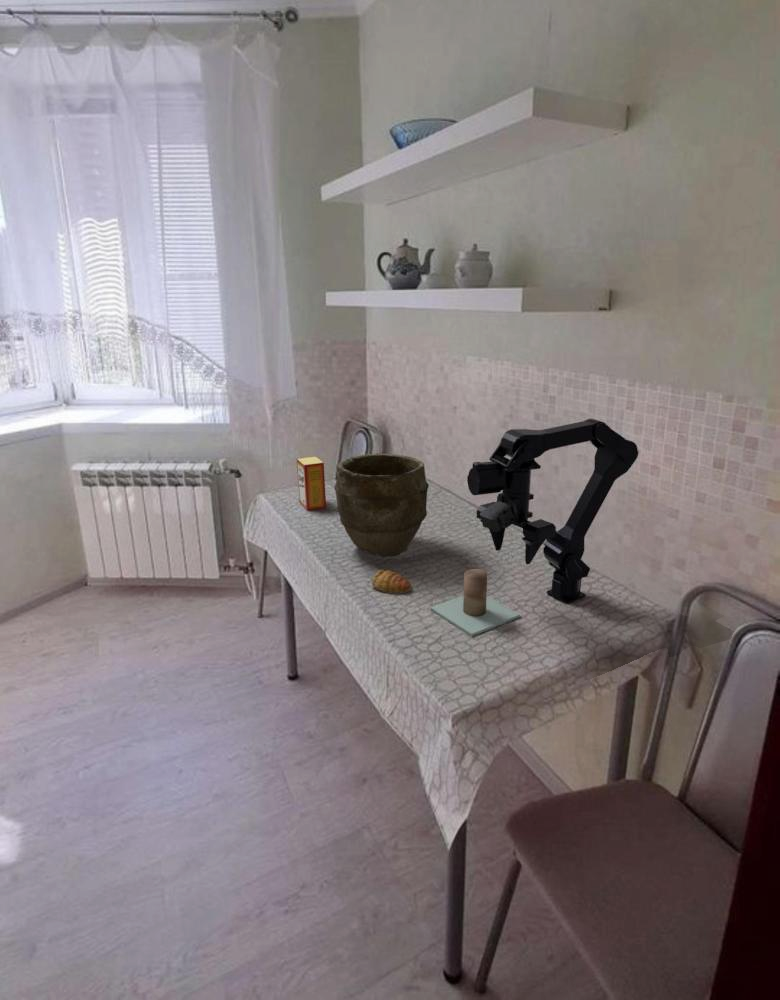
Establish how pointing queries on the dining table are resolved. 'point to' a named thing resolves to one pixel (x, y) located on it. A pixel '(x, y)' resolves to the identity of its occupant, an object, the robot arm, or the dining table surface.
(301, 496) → the baking soda box
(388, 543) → the clay pot
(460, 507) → the dining table surface
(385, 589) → the pastry
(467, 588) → the brown rounded cylinder
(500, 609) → the card
